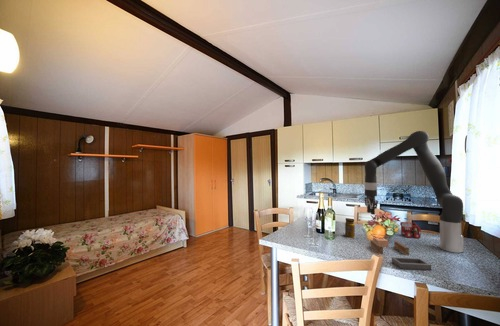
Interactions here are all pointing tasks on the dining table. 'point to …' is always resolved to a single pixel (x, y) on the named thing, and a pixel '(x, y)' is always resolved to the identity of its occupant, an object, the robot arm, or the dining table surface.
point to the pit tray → (411, 263)
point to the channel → (397, 246)
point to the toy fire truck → (410, 230)
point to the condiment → (349, 229)
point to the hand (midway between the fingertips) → (370, 213)
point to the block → (381, 242)
